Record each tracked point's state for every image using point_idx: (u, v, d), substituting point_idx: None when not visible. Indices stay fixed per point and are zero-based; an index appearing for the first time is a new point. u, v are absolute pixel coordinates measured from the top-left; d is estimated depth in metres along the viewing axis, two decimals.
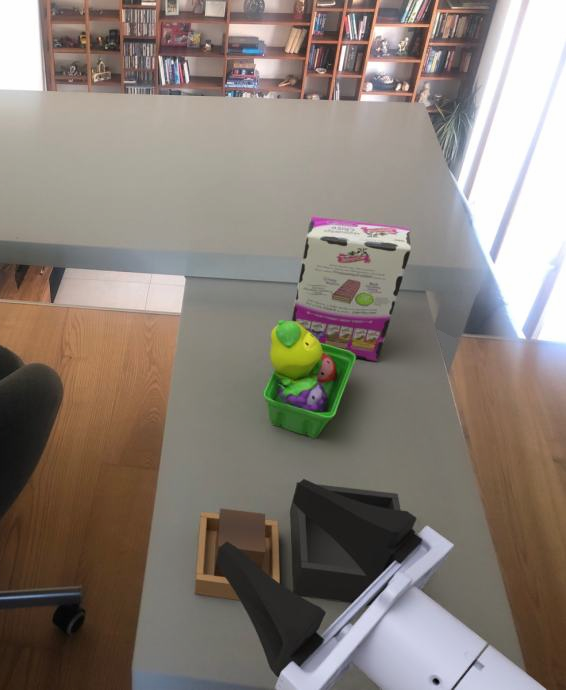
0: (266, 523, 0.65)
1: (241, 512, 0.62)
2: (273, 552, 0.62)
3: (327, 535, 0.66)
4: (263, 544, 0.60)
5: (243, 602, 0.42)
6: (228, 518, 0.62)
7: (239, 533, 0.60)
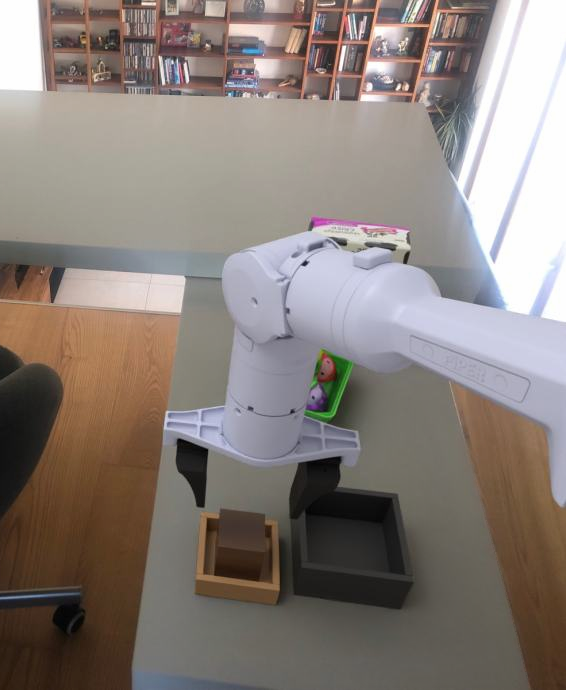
0: (266, 523, 0.65)
1: (241, 512, 0.62)
2: (273, 552, 0.62)
3: (327, 535, 0.66)
4: (263, 544, 0.60)
5: None
6: (228, 518, 0.62)
7: (239, 533, 0.60)
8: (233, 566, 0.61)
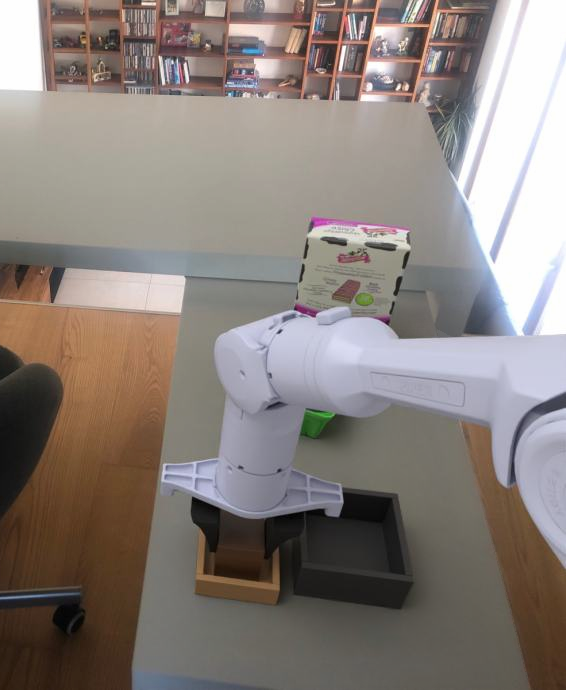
0: None
1: None
2: (273, 552, 0.62)
3: (327, 535, 0.66)
4: (263, 544, 0.60)
5: None
6: (228, 518, 0.62)
7: (238, 533, 0.60)
8: (233, 566, 0.61)
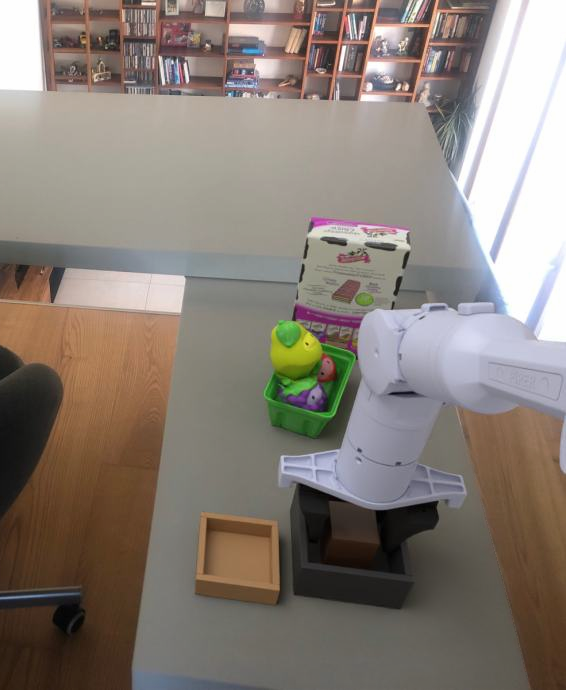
0: (266, 523, 0.65)
1: (350, 504, 0.62)
2: (273, 552, 0.62)
3: None
4: (377, 536, 0.60)
5: (309, 526, 0.61)
6: (338, 510, 0.62)
7: (351, 525, 0.61)
8: (344, 557, 0.62)
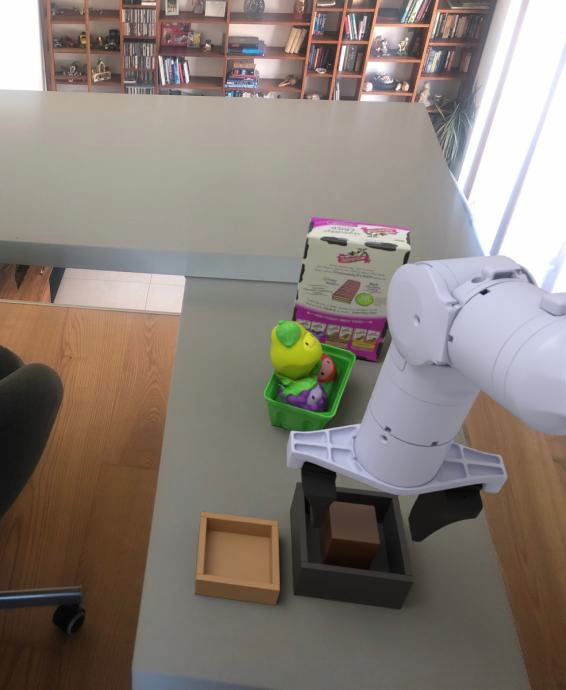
0: (266, 523, 0.65)
1: (350, 504, 0.62)
2: (273, 552, 0.62)
3: None
4: (377, 536, 0.60)
5: None
6: (338, 510, 0.62)
7: (351, 525, 0.61)
8: (344, 557, 0.62)
